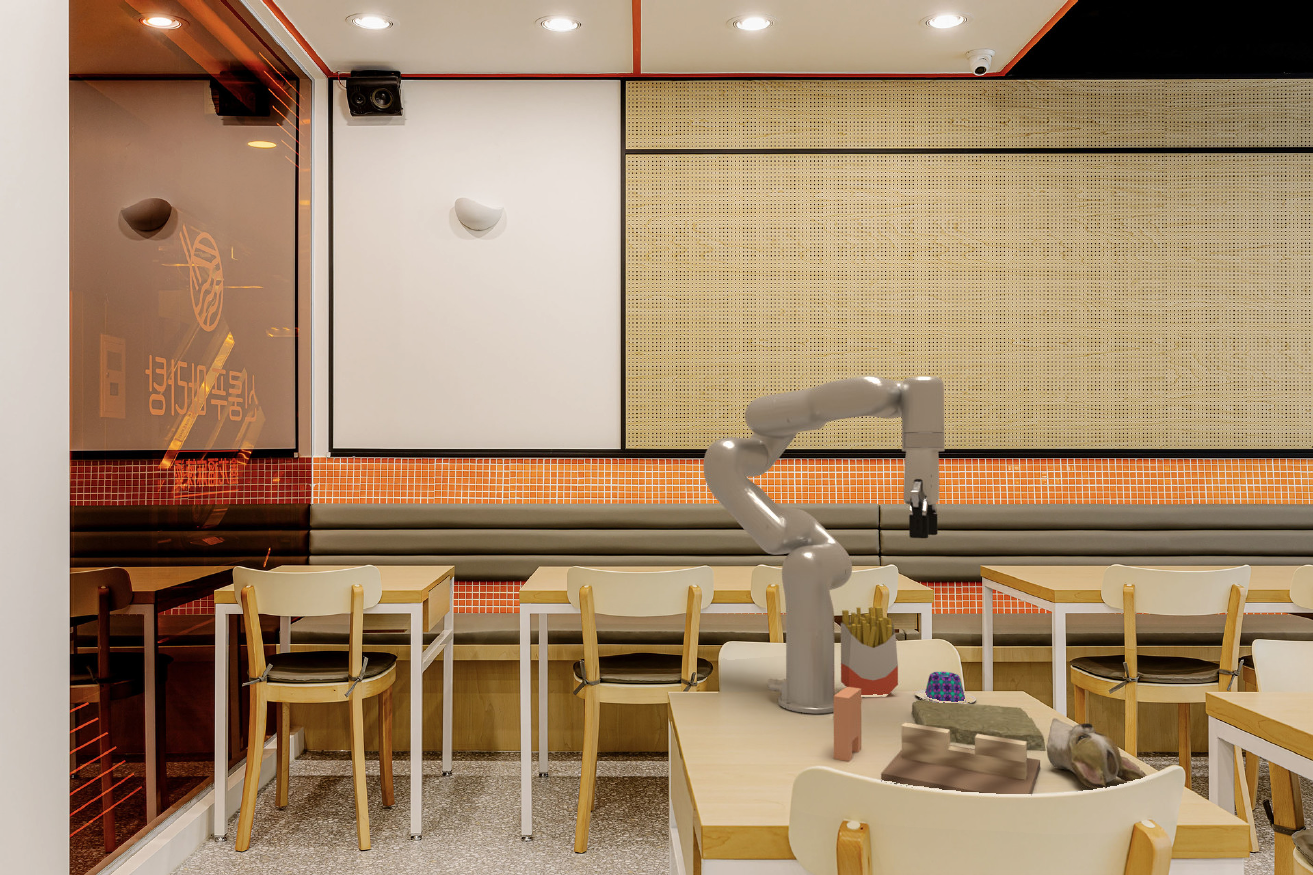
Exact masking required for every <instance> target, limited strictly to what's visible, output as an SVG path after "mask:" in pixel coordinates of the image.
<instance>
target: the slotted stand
mask: <svg viewBox="0 0 1313 875" xmlns="http://www.w3.org/2000/svg"><path fill="white" fill-rule="evenodd" d="M1040 769H1041V760H1040V759H1036V758H1032V757H1031V758H1030V757H1028V750H1027V742H1026V741H1020V740H1014V739H1007V738H1001V737H994V736H988V735H981V734H977V735H976V736H975V745H974V748H969V747H963V746H957V745H952V744H951V742H950V730H949V729H943V728H936V727H930V726H923V725H917V724H916V723H909V722H904V723H902V725H901V749H900V751H899V752H898V753H897V754H896V755H895V756H894V758H893V759H892V760H891V761H890V763H888V765H887V766H886V767H885V768H884V769H883V770H882V771H881V773H880V780H881V779H882V780H884V781H892V782H896V783H900V784H908V785H913V786H924V787H929V788H939V789H942V790H956V791H961V792H979V793H996V794H1031V795H1033V791H1034V787H1035V785H1036V782H1037V779H1038V776H1039V772H1040Z"/></svg>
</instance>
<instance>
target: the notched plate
mask: <svg viewBox="0 0 1313 875" xmlns="http://www.w3.org/2000/svg"><path fill="white" fill-rule="evenodd" d="M861 750H862V698H861V689H860V688H853V687H846V686H845V688H843V689H841V690H840V691H839V692H837V693H835V695H834V712H833V759H834V760H839V761H846V762H850V761H851V760H852V759H853V752H856V753H859V752H860V751H861Z"/></svg>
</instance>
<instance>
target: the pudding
mask: <svg viewBox="0 0 1313 875" xmlns="http://www.w3.org/2000/svg"><path fill="white" fill-rule="evenodd" d="M915 693H926V695H927V697H929V698H932V699H937V700H939V701H951V702H958V701H964V699H965V695H964V693H965V691H964V688H963V684H962V680H961V677H960V675H959V674H957V673H954V672H949V671H933V672H932V673H930V674H929V676H928V681H927V684H926V687H925V688H924V689H923V688H922V689H919V690H916V691H915V692H914V694H915ZM967 695H971V694H970V693H968V694H967ZM969 697H972V698H973V699H975V700H973V702H970V703H966V704H973V703H974V702H976V700H977V698H976V697H975V696H974V695H972V696H969ZM922 700H924V699H922Z"/></svg>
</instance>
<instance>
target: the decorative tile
mask: <svg viewBox="0 0 1313 875" xmlns="http://www.w3.org/2000/svg"><path fill="white" fill-rule="evenodd" d="M911 707H912V708H911V715H913V716H912V717H913V720H914V722H915V724H917V725H923V726H930V727H936V728H943V729H949V730H950V743H953V744H961V745H968V746H969V745H971V746H975V736H976V735H977V734H981V735H988V736H994V737H1001V738H1007V739H1014V740H1020V741H1026V742H1027V751H1038V752H1047V749H1046V745H1045V744H1046V743H1045V738H1044V734H1043V732H1042V731H1041V730H1040V729H1039V727H1037V725H1036V723H1035V721H1034V720H1033V718H1032V717H1029V716H1028V713H1027V711H1024V709H1023V708H1021V707H1017V706H1016V707H1015V706H1002V705H991V704H977V703H976V704H975V703H974V704H973V703H969V704H961V703H945V702H943V703H939V702H935V701H930V700H929V701H928V700H923V699H921V700H920V699H919V700H916V701H914V702H912V704H911Z"/></svg>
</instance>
